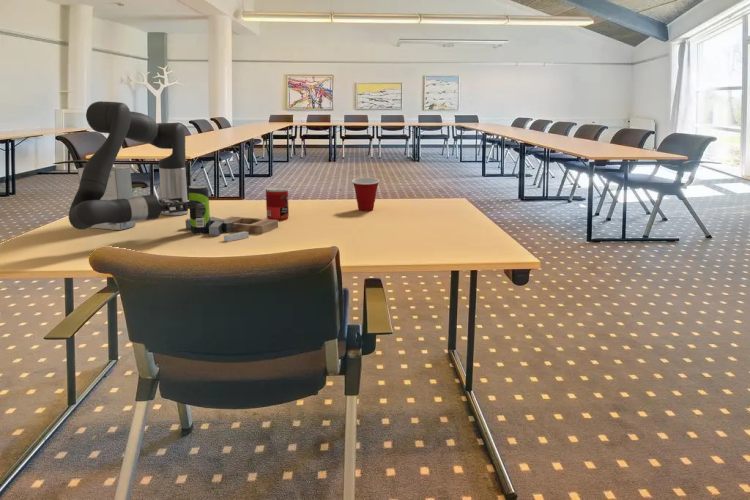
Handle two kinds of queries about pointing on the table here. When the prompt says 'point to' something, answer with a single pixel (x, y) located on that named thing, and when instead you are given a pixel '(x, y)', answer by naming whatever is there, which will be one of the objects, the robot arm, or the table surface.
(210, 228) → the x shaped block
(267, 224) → the wooden rectangular frame
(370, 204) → the plastic cup
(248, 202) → the table surface
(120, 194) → the hard drive box
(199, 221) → the beverage can
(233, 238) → the bar
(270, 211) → the canned food
